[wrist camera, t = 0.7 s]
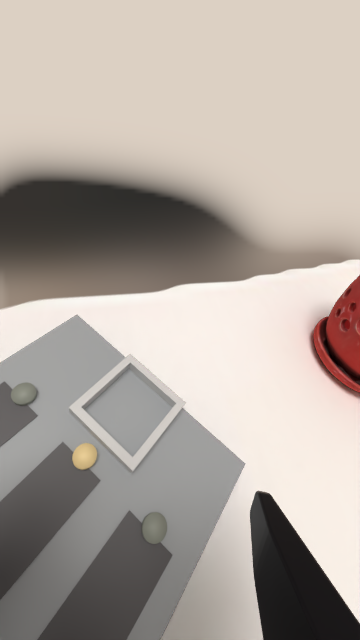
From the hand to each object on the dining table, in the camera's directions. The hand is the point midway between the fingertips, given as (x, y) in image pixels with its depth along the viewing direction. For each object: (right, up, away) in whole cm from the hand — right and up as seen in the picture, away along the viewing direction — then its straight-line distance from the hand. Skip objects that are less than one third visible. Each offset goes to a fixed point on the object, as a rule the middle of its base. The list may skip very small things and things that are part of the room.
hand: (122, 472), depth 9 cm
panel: (-7, -7, +9) cm, 13 cm away
